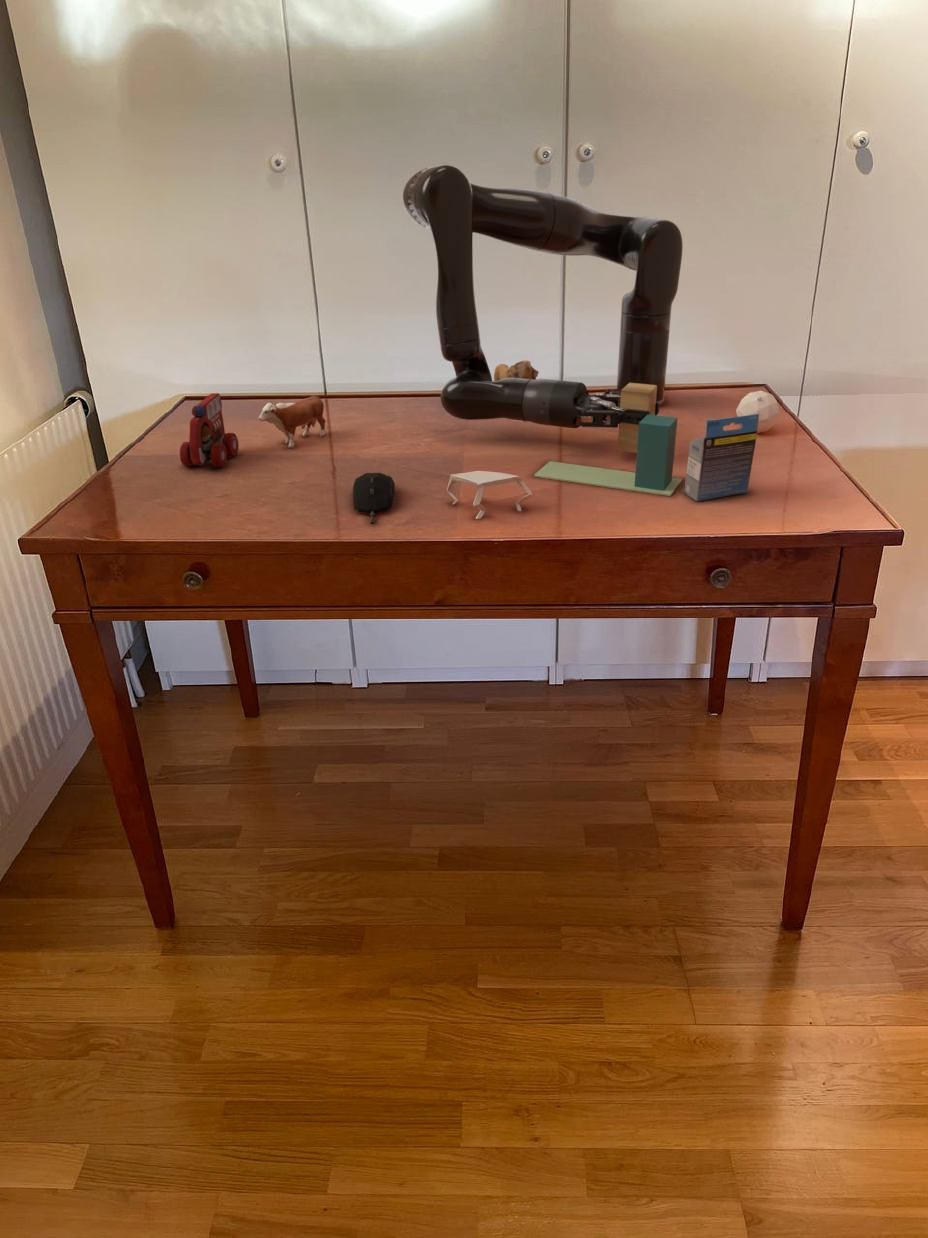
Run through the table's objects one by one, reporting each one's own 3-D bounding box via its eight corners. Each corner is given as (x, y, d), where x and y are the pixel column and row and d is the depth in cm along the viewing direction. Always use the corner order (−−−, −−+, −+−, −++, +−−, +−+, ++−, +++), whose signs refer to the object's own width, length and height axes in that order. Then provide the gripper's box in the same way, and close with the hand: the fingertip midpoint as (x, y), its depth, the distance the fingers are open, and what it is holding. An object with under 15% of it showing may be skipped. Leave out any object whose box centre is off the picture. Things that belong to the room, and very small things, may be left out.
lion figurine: (541, 406, 174) (542, 360, 169) (519, 411, 171) (520, 364, 167) (498, 390, 184) (498, 346, 180) (477, 395, 182) (476, 350, 177)
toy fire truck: (177, 473, 147) (164, 411, 141) (206, 448, 157) (196, 390, 152) (216, 474, 146) (205, 412, 140) (243, 449, 156) (234, 390, 151)
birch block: (625, 441, 149) (629, 382, 144) (652, 444, 147) (657, 384, 142) (617, 450, 145) (621, 389, 140) (644, 453, 144) (649, 392, 139)
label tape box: (733, 485, 135) (744, 405, 129) (749, 494, 132) (760, 413, 126) (683, 493, 133) (691, 413, 127) (697, 502, 130) (706, 420, 123)
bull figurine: (259, 449, 156) (252, 403, 152) (319, 430, 165) (314, 386, 160) (274, 454, 154) (268, 408, 149) (334, 434, 162) (329, 390, 158)
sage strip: (549, 462, 146) (549, 460, 146) (682, 480, 137) (682, 478, 137) (533, 476, 141) (533, 475, 140) (670, 496, 132) (670, 494, 132)
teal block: (642, 476, 139) (647, 414, 134) (671, 480, 137) (677, 417, 132) (634, 486, 135) (638, 422, 130) (663, 490, 133) (669, 426, 128)
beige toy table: (453, 523, 126) (452, 490, 123) (446, 501, 133) (445, 470, 130) (536, 516, 127) (536, 484, 124) (525, 495, 134) (525, 464, 132)
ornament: (785, 429, 157) (789, 402, 150) (746, 447, 157) (749, 420, 150) (766, 401, 160) (769, 373, 153) (728, 419, 160) (729, 391, 153)
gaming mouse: (350, 525, 126) (347, 499, 124) (355, 487, 139) (353, 462, 137) (394, 523, 126) (392, 497, 124) (395, 485, 139) (393, 461, 137)
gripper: (539, 392, 142) (643, 402, 135) (570, 370, 153) (667, 378, 146) (538, 437, 145) (640, 450, 139) (568, 412, 156) (664, 423, 150)
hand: (653, 413), depth 142 cm, fingers closed on birch block, 4 cm apart
